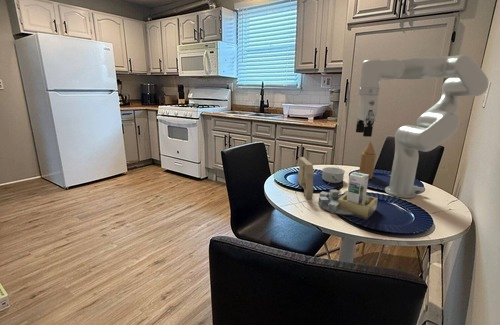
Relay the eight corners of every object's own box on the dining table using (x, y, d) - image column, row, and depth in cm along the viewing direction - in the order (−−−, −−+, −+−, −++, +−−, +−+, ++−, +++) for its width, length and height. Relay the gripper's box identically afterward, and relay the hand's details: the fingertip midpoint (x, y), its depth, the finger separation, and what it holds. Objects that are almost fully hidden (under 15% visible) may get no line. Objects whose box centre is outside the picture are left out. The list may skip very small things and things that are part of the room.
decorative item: (372, 175, 148) (378, 140, 142) (371, 179, 142) (376, 142, 137) (360, 173, 151) (364, 139, 146) (358, 177, 146) (362, 141, 140)
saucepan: (322, 189, 128) (323, 178, 127) (320, 176, 147) (321, 166, 146) (347, 191, 126) (348, 180, 124) (342, 177, 145) (343, 167, 143)
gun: (313, 200, 115) (315, 166, 112) (305, 200, 115) (307, 166, 112) (303, 185, 139) (304, 156, 136) (297, 185, 139) (298, 156, 136)
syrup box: (344, 209, 104) (349, 174, 100) (350, 204, 109) (354, 170, 105) (359, 213, 101) (364, 177, 97) (364, 208, 105) (369, 173, 101)
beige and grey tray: (378, 207, 109) (380, 195, 108) (364, 223, 96) (365, 210, 95) (329, 193, 122) (330, 183, 121) (310, 206, 109) (311, 195, 108)
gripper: (387, 93, 99) (380, 138, 104) (370, 92, 115) (365, 131, 120) (366, 92, 99) (360, 137, 104) (352, 91, 116) (348, 130, 121)
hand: (363, 134), depth 112 cm, fingers open, 9 cm apart
